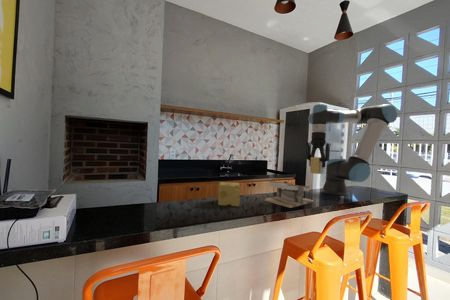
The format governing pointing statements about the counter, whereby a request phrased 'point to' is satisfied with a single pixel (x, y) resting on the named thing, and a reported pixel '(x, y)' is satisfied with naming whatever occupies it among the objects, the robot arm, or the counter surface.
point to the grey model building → (288, 186)
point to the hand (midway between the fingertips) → (316, 172)
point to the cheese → (228, 193)
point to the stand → (289, 198)
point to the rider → (315, 165)
